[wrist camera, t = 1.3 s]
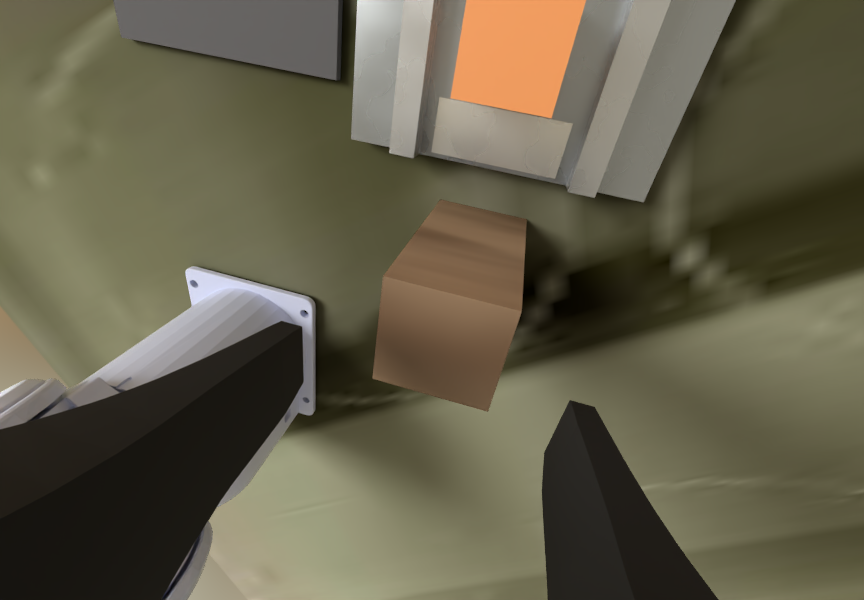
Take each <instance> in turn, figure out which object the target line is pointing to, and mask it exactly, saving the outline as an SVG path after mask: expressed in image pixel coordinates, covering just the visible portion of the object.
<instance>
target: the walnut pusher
mask: <svg viewBox="0 0 864 600" xmlns="http://www.w3.org/2000/svg"><path fill="white" fill-rule="evenodd" d="M526 225H527V219H523V218H519V217H514V216H510V215H506V214H501V213H497V212H492V211H488V210H484V209H479V208H475V207H471V206H466V205H462V204H457V203H453V202H449V201H444V200H440V201H439V202H438V203H437V205H436V206H435V207H434V209H433V210H432V211H431V213H430V214H429V215H428V217H427V218H426V219H425V221H424V222H423V223H422V225H421V226H420V227H419V229H418V230H417V231H416V233H415V234H414V236H413V237H412V238H411V240H410V241H409V242H408V244H407V245H406V246H405V248H404V249H403V250H402V252H401V253H400V254H399V256H398V257H397V258H396V260H395V261H394V262H393V264H392V265H391V266H390V268H389V269H388V270H387V272H386V273H385V274H384V276H383V282H382V292H381V301H380V311H379V321H378V330H377V340H376V349H375V359H374V368H373V378H372V379H376V380H379V381H383V382H386V383H390V384H393V385H396V386H400V387H403V388H407V389H410V390H414V391H417V392H421V393H424V394H428V395H431V396H435V397H438V398H442V399H445V400H449V401H452V402H456V403H459V404H463V405H466V406H470V407H473V408H477V409H480V410H484V411H487V412H488V410H489V407H490V404H491V401H492V398H493V395H494V392H495V389H496V386H497V383H498V380H499V377H500V375H501V372H502V369H503V366H504V363H505V360H506V357H507V354H508V351H509V348H510V345H511V342H512V339H513V336H514V333H515V330H516V327H517V324H518V321H519V318H520V315H521V312H522V299H523V280H524V262H525V243H526Z"/></svg>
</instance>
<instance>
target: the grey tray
mask: <svg viewBox="0 0 864 600" xmlns="http://www.w3.org/2000/svg"><path fill="white" fill-rule="evenodd" d="M735 1H736V0H586V3H585V6H584V9H583V13H582V16H581V20H580V23H579V26H578V30H577V33H576V37H575V40H574V43H573V47H572V50H571V54H570V57H569V60H568V64H567V67H566V71H565V74H564V77H563V81H562V84H561V88H560V91H559V95H558V98H557V101H556V105H555V108H554V112H553V115H552V118H547V117H542V116H537V115H532V114H527V113H522V112H517V111H512V110H507V109H502V108H497V107H492V106H487V105H482V104H477V103H471V102H466V101H461V100H456V99H451V98H450V97H451V91H452V85H453V79H454V73H455V67H456V60H457V54H458V48H459V42H460V36H461V30H462V24H463V18H464V12H465V5H466V0H357V22H356V44H355V66H354V88H353V110H352V132H351V139H353V140H358V141H363V142H367V143H372V144H377V145H381V146H386V147H390V149H389V153H391V154H396V155H400V156H405V157H410V158H415V157H416V156H418V155H419V154H423V155H427V156H432V157H436V158H441V159H446V160H450V161H455V162H460V163H464V164H469V165H473V166H478V167H483V168H487V169H492V170H496V171H501V172H506V173H510V174H515V175H520V176H524V177H529V178H533V179H538V180H543V181H547V182H552V183H556V184H561V185H566V188H567V191H568V192H570V193H574V194H579V195H583V196H588V197H593V198H595V196H596V193H597V192H598V193H603V194H607V195H612V196H616V197H621V198H626V199H630V200H635V201H640V202H644V200H645V198H646V196H647V194H648V192H649V189H650V187H651V185H652V183H653V181H654V178H655V176H656V174H657V172H658V170H659V168H660V165H661V163H662V161H663V159H664V157H665V154H666V152H667V150H668V148H669V146H670V143H671V141H672V139H673V137H674V135H675V132H676V130H677V128H678V126H679V124H680V122H681V119H682V117H683V115H684V113H685V111H686V108H687V106H688V104H689V102H690V100H691V97H692V95H693V93H694V91H695V89H696V86H697V84H698V82H699V80H700V78H701V75H702V73H703V71H704V69H705V67H706V65H707V62H708V60H709V58H710V56H711V54H712V51H713V49H714V47H715V45H716V43H717V40H718V38H719V36H720V34H721V32H722V29H723V27H724V25H725V23H726V21H727V19H728V16H729V14H730V12H731V10H732V8H733V5H734V3H735Z"/></svg>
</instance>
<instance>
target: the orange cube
mask: <svg viewBox="0 0 864 600" xmlns="http://www.w3.org/2000/svg"><path fill="white" fill-rule="evenodd" d="M585 3H586V0H466V5H465V12H464V18H463V24H462V30H461V36H460V42H459V48H458V54H457V60H456V67H455V73H454V79H453V85H452V91H451V97H450V98H451V99H456V100H461V101H466V102H471V103H477V104H482V105H487V106H492V107H497V108H502V109H507V110H512V111H517V112H522V113H527V114H532V115H537V116H542V117H547V118H552V115H553V112H554V108H555V105H556V101H557V98H558V95H559V91H560V88H561V84H562V81H563V77H564V74H565V71H566V67H567V64H568V60H569V57H570V54H571V50H572V47H573V43H574V40H575V37H576V33H577V30H578V26H579V23H580V20H581V16H582V13H583V9H584V6H585Z"/></svg>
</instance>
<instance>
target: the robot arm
mask: <svg viewBox="0 0 864 600" xmlns="http://www.w3.org/2000/svg"><path fill="white" fill-rule="evenodd" d="M186 279H187V283H188V288H189V293H190V298H191V303H192V307H191V308H189V309H188V310H186V311H185V312H183V313H182V314H180V315H179V316H177V317H176V318H174V319H173V320H172V321H170V322H169V323H167V324H166V325H164V326H163V327H161V328H160V329H158V330H157V331H155V332H154V333H152V334H151V335H150V336H148V337H147V338H145V339H144V340H142V341H141V342H139V343H138V344H136V345H135V346H133V347H132V348H130V349H129V350H128V351H126V352H125V353H123V354H122V355H120V356H119V357H117V358H116V359H114V360H113V361H111V362H110V363H108V364H107V365H106V366H104V367H103V368H101V369H100V370H98V371H97V372H95V373H94V374H92V375H91V376H89V377H88V378H86V379H85V380H84V381H82V382H81V383H79V384H77V385H75V386H73V387H71V388H68V389H66V387H65V386H64V385H63V384H62V383H61V382H60V381H59V380H57V379H55V378H51V379H48V380H45V381H44V380H39V379H26V380H23V381H21V382H19V383H17V384H15V385H13V386H11V387H10V388H7V389H6V390H4V391H2V392H0V600H187V599H188V598H189V596H190V595H191V593H192V591H193V589H194V588H195V586H196V584H197V582H198V580H199V578H200V576H201V574H202V571H203V568H204V566H205V563H206V560H207V556H208V554H209V551H210V547H211V543H212V533H213V531H212V527H211V524H210V523H209V521H208V520H209V519H210V517H211V515H212V514H213V512H214V511H215V509H216V508H217V507H219V506H221V505H222V504H224V503H226V502H228V501H229V500H231V499H232V498H234V497H235V496H236V495H237V494H239V493H240V492H241V491H242V490H243V489H244V488H245V487H246V486H247V485H248V484H249V483H250V481H251V480H252V479H253V477H254V476H255V474H256V473H257V471H258V470H259V468H260V467H261V466H262V464H263V463H264V461H265V460H266V458H267V457H268V456H269V454H270V453H271V451H272V450H273V448H274V447H275V445H276V444H277V443H278V441H279V440H280V438H281V437H282V435H283V434H284V433H285V431H286V430H287V428H288V427H289V425H290V424H291V422H292V421H293V420H294V418H295V417H296V415H297V414H298V413H301V414H305V415H312V414H313V413H314V411H315V302H314V301H313V300H312V299H311V298H310V297H308V296H304V295H301V294H297V293H293V292H289V291H286V290H282V289H278V288H274V287H271V286H267V285H263V284H259V283H256V282H252V281H248V280H244V279H241V278H237V277H233V276H229V275H226V274H222V273H218V272H214V271H211V270H207V269H203V268H199V267H195V266H192V267H190V268H188V269H187V270H186ZM196 282H197V283H196ZM304 310H305V311H307V312H308V314H306V313H305V312H304ZM542 503H543V521H544V539H545V555H546V572H547V589H548V600H718V598H717V597H716V596H715V595H714V593H713V592H712V591H711V589H710V588H709V587H708V585H707V584H706V583H705V581H704V580H703V579H702V577H701V576H700V575H699V573H698V572H697V571H696V569H695V568H694V567H693V565H692V564H691V563H690V561H689V560H688V558H687V557H686V556H685V554H684V553H683V551H682V550H681V549H680V547H679V546H678V544H677V543H676V541H675V540H674V538H673V537H672V535H671V534H670V532H669V531H668V529H667V528H666V526H665V525H664V523H663V522H662V520H661V519H660V518H659V516H658V515H657V513H656V512H655V510H654V508H653V507H652V505H651V504H650V502H649V500H648V499H647V497H646V496H645V494H644V492H643V491H642V489H641V487H640V486H639V484H638V482H637V481H636V479H635V477H634V476H633V474H632V472H631V471H630V469H629V467H628V466H627V464H626V462H625V460H624V459H623V457H622V455H621V453H620V452H619V450H618V448H617V446H616V444H615V443H614V441H613V439H612V437H611V436H610V434H609V432H608V430H607V428H606V427H605V425H604V423H603V421H602V419H601V418H600V416H599V414H598V412H597V411H596V409H595V407H593V406H589V405H585V404H582V403H578V402H574V401H571V400H570V401H569V403H568V405H567V407H566V409H565V411H564V413H563V415H562V417H561V419H560V421H559V424H558V426H557V428H556V430H555V432H554V434H553V436H552V438H551V440H550V442H549V444H548V446H547V448H546V450H545V452H544V466H543V482H542Z"/></svg>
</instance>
